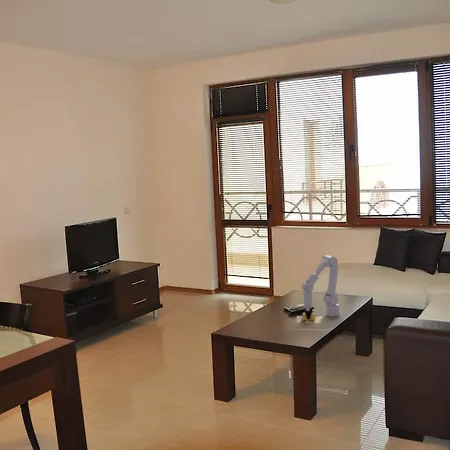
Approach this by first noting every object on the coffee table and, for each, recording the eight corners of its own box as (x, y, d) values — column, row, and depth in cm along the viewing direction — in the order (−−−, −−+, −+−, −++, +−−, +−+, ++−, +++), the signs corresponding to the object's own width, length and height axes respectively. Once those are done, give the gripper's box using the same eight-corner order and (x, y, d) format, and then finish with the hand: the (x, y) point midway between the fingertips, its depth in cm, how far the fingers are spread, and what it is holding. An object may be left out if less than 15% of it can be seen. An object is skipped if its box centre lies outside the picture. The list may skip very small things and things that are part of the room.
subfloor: (322, 317, 395) (322, 315, 394) (321, 325, 376) (321, 323, 376) (297, 317, 399) (297, 315, 398) (295, 324, 380) (295, 323, 380)
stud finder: (314, 318, 389) (314, 312, 388) (314, 320, 384) (314, 314, 384) (303, 318, 390) (303, 312, 390) (302, 319, 386) (302, 314, 385)
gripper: (303, 296, 393) (303, 315, 395) (301, 301, 379) (302, 321, 381) (313, 296, 392) (313, 315, 393) (311, 301, 378) (312, 321, 379)
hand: (308, 318), depth 387 cm, fingers closed on stud finder, 5 cm apart
